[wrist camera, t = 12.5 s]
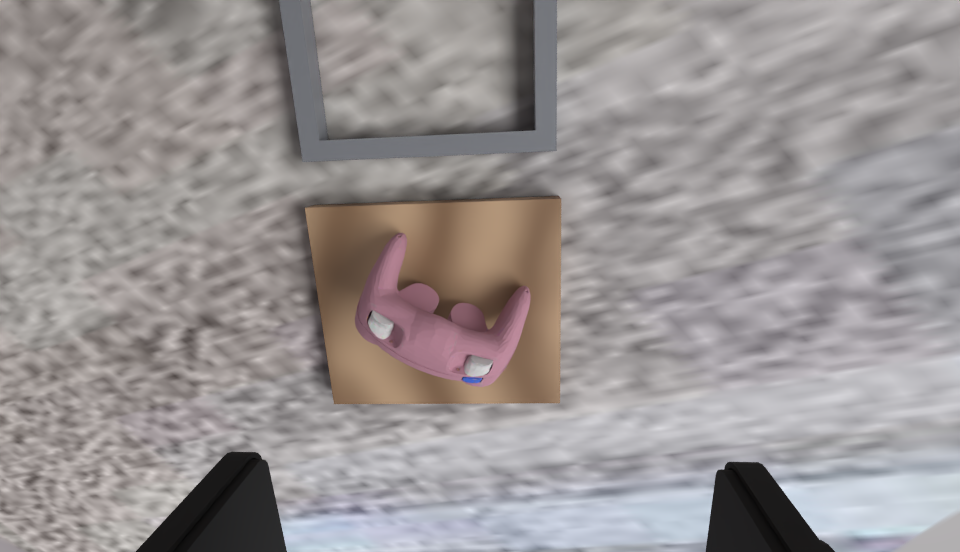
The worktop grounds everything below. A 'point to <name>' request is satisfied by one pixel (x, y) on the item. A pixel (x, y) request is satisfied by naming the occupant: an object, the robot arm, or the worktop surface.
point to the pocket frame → (322, 149)
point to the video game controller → (436, 325)
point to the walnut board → (441, 290)
